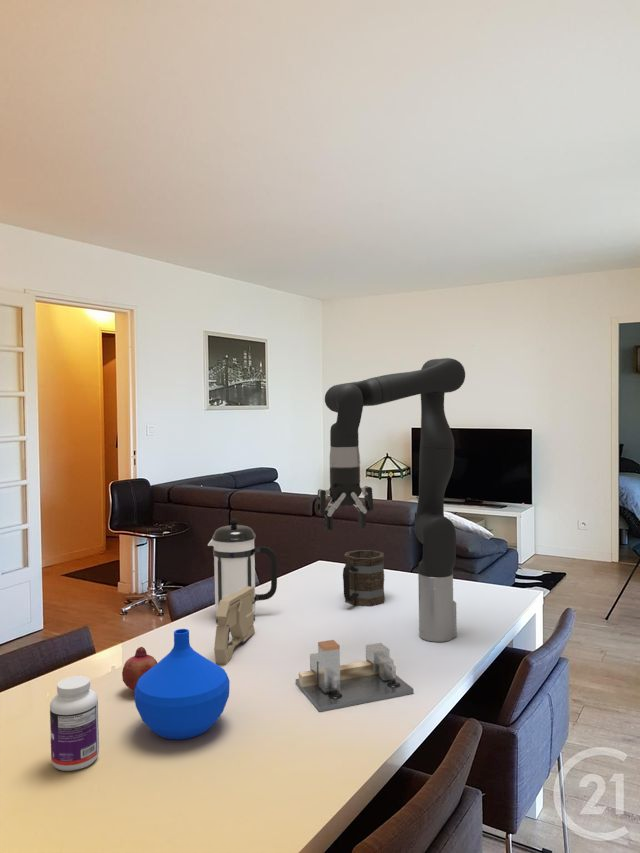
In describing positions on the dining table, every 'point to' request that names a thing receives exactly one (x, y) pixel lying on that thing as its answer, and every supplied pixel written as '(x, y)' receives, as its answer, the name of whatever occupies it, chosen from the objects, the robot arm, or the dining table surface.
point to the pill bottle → (74, 724)
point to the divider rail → (345, 673)
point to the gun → (233, 623)
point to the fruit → (137, 667)
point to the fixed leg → (381, 661)
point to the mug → (364, 578)
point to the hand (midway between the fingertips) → (345, 529)
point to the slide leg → (327, 666)
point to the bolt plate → (356, 692)
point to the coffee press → (238, 562)
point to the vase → (182, 692)
